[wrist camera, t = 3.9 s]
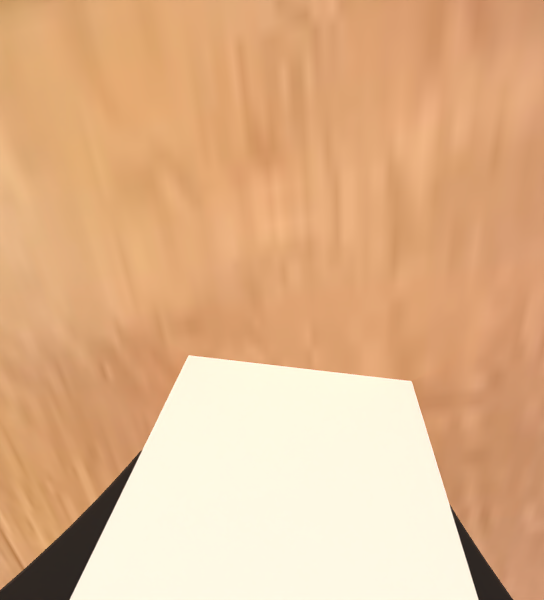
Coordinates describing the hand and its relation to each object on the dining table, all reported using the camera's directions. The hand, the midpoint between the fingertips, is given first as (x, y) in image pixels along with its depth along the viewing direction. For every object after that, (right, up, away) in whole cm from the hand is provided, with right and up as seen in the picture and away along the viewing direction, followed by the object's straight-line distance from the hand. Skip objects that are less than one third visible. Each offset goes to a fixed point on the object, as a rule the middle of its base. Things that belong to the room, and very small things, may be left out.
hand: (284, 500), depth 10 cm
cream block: (0, +1, +1) cm, 1 cm away
